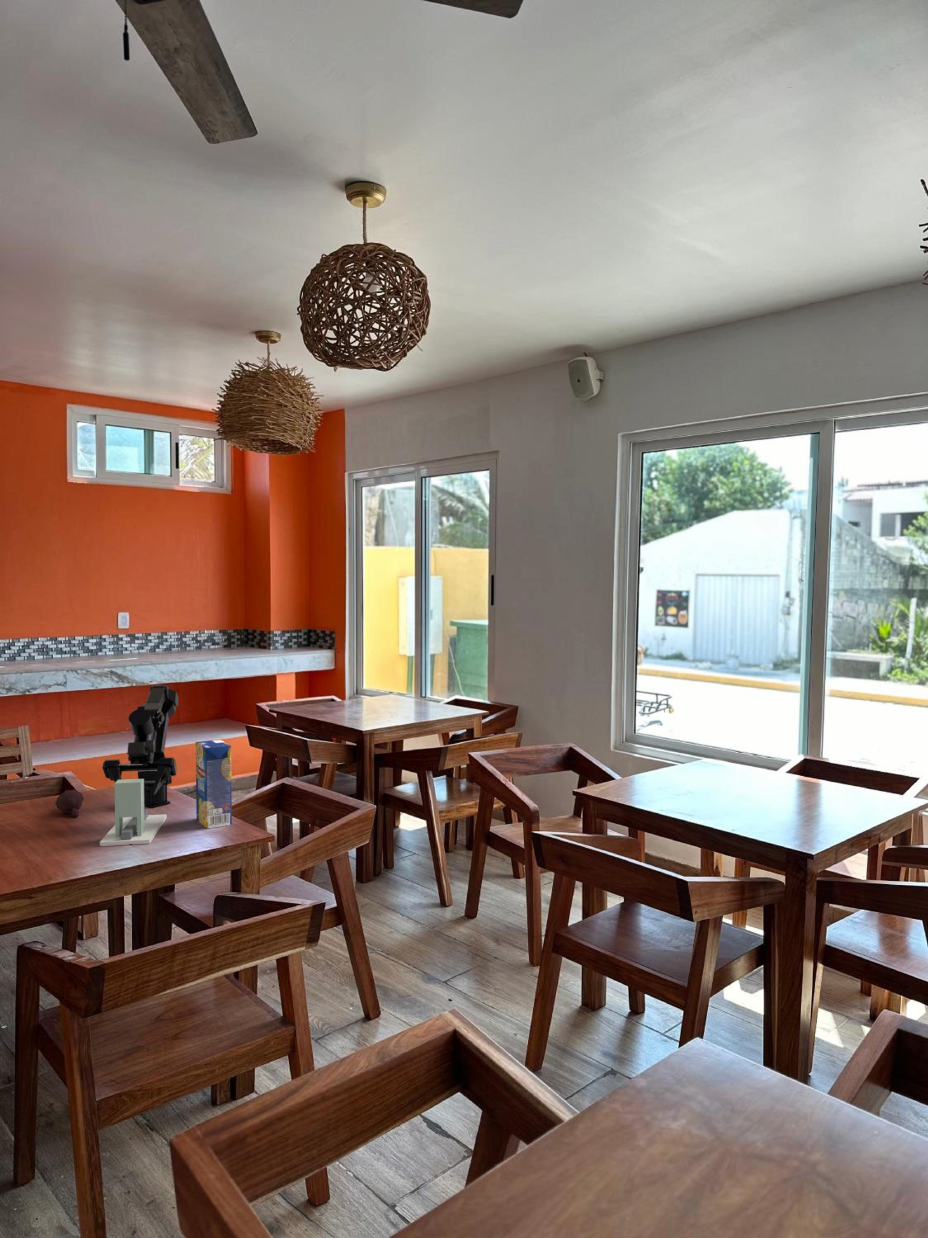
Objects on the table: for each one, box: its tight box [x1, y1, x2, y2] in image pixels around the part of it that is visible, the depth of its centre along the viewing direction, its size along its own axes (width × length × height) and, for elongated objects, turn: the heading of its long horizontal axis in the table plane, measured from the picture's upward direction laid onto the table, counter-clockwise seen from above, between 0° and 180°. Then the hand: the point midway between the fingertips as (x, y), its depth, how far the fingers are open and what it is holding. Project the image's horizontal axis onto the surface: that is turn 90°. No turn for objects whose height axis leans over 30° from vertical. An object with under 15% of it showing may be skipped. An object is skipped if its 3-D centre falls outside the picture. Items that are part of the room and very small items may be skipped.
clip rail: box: [99, 808, 167, 847], centre depth 221 cm, size 24×12×3 cm, turn 10°
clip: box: [113, 778, 145, 837], centre depth 215 cm, size 4×6×14 cm, turn 100°
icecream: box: [55, 789, 84, 818], centre depth 240 cm, size 7×7×15 cm
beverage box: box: [195, 739, 233, 829], centre depth 230 cm, size 7×11×22 cm, turn 32°
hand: (136, 794), depth 223 cm, fingers open, 9 cm apart
